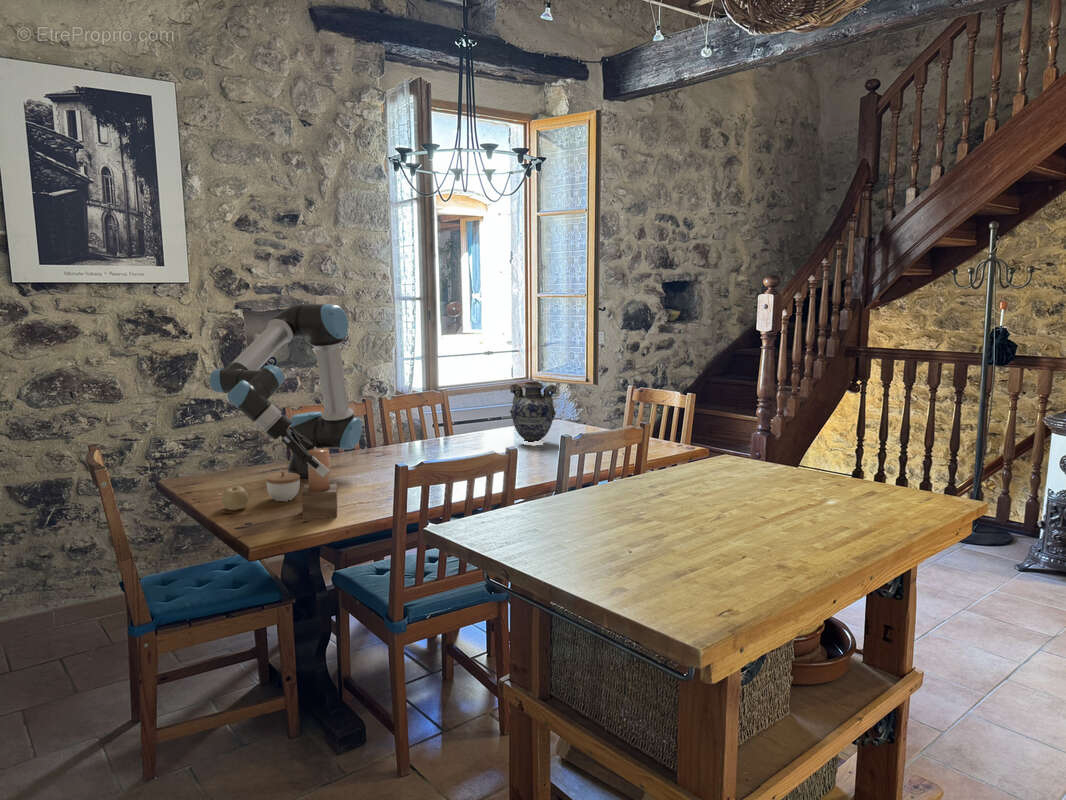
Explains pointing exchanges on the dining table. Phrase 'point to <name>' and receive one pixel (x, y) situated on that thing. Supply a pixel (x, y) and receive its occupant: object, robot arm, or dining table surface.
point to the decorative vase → (532, 410)
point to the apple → (235, 498)
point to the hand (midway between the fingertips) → (327, 468)
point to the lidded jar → (283, 485)
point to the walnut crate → (319, 502)
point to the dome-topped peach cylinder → (314, 478)
